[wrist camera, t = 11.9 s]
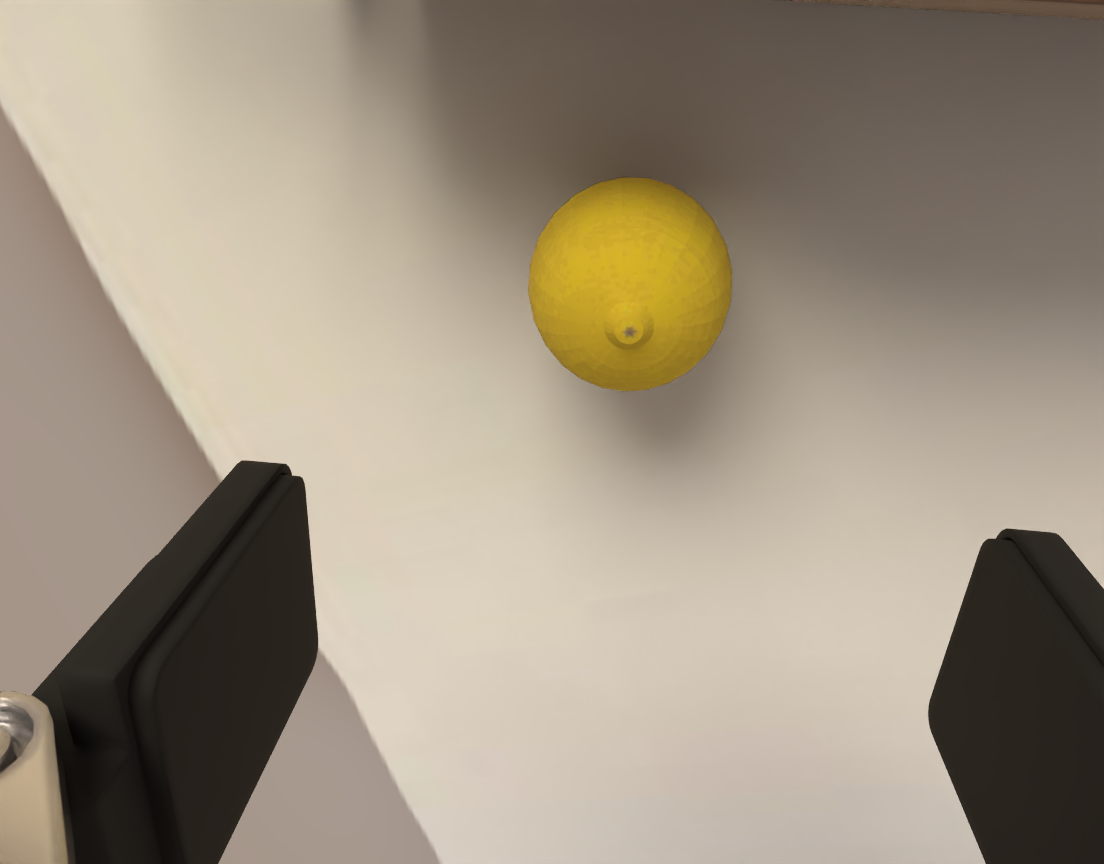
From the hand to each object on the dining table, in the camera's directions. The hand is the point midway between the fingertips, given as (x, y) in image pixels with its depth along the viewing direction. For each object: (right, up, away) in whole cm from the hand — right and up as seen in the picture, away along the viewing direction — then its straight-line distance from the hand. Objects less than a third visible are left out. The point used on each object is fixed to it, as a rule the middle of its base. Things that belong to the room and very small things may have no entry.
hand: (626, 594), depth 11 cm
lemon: (+2, +8, +16) cm, 18 cm away
